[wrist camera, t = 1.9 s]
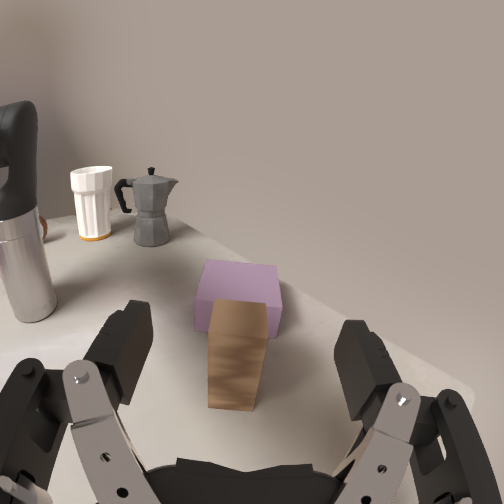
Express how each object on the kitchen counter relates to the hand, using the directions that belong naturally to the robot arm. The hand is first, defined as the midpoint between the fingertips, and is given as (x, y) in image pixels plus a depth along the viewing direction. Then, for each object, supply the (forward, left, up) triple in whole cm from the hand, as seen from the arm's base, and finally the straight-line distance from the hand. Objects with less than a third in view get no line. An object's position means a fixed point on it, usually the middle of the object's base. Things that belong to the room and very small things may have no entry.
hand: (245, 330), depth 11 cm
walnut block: (-4, +11, -20) cm, 23 cm away
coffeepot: (-40, +41, -20) cm, 60 cm away
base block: (-10, +26, -21) cm, 35 cm away
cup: (-55, +36, -20) cm, 68 cm away
